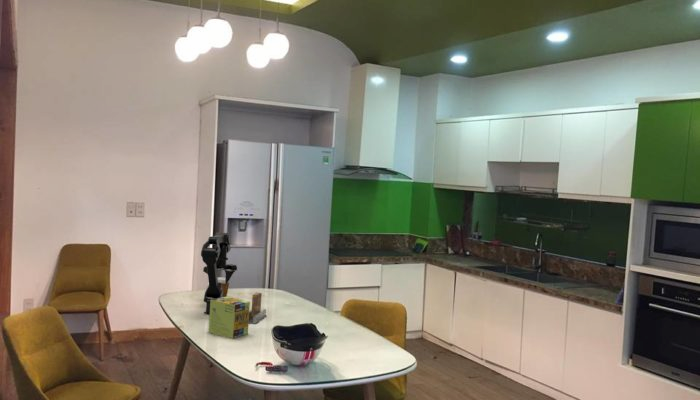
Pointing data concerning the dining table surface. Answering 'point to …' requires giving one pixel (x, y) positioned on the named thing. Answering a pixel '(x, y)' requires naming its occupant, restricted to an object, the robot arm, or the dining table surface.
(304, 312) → the dining table surface
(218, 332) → the protein box
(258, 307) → the door panel
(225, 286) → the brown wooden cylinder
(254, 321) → the door track
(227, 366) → the dining table surface
